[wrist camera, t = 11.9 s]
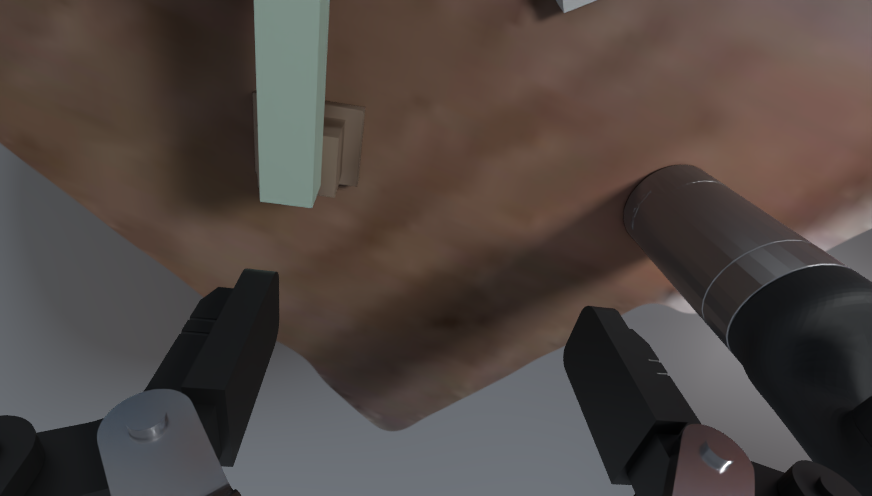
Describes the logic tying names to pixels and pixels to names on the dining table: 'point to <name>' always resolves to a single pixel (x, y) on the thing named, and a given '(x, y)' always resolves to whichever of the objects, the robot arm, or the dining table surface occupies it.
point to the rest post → (333, 145)
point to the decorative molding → (572, 4)
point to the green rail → (290, 97)
